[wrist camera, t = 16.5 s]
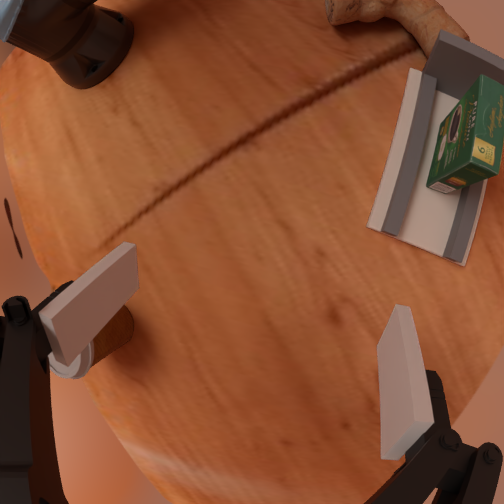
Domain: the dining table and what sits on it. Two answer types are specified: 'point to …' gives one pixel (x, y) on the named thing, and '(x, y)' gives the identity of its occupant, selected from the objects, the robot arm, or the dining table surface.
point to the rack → (421, 154)
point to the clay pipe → (398, 17)
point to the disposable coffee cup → (97, 346)
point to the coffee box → (470, 139)
